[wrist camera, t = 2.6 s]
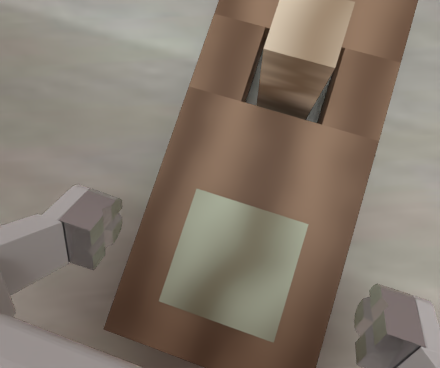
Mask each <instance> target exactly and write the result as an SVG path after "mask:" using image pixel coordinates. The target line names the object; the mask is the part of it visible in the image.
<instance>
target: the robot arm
mask: <svg viewBox="0 0 440 368" xmlns="http://www.w3.org/2000/svg"><path fill="white" fill-rule="evenodd" d="M121 209H122V200H121V199H119V198H117V197H114V196H111V195H108V194H105V193H103V192H100V191H97V190H94V189H91V188H88V187H85V186H82V185H80V184H76V185H73V186H72V187H71V188H70V189H69V190H68V191H67V192H66V193H64V194H63V195H62V196H61V197H60V198H59V199H58V200H57V201H56V202H55V203H54V204H53V205H52V206H51V207H50V208H49V209H47V210H46V211H45V212H44V213H43V214H42V215H40V214H35V215H32V216H29V217H26V218H22V219H19V220H16V221H13V222H10V223H7V224H4V225H1V226H0V368H143V367H141V366H138V365H136V364H133V363H131V362H128V361H125V360H123V359H120V358H118V357H115V356H112V355H110V354H107V353H105V352H102V351H99V350H97V349H94V348H92V347H89V346H86V345H84V344H81V343H79V342H76V341H73V340H71V339H68V338H66V337H63V336H60V335H58V334H55V333H53V332H50V331H48V330H45V329H42V328H40V327H37V326H35V325H32V324H29V323H27V322H24V321H22V320H19V319H16V318H14V317H13V316H14V315H15V314H16V312H15V307H14V304H13V302H12V299H11V295H12V294H14V293H16V292H18V291H20V290H22V289H23V288H25V287H27V286H29V285H31V284H33V283H34V282H36V281H38V280H40V279H42V278H43V277H45V276H47V275H49V274H51V273H53V272H54V271H56V270H58V269H60V268H62V267H64V266H65V265H67V264H69V262H70V263H73V264H76V265H79V266H82V267H85V268H88V269H91V270H94V269H95V268H96V267H97V265H98V264H99V263H100V261H101V260H102V258H103V257H104V256H105V248H106V247H108V246H110V245H112V244H113V243H114V242H115V240H116V239H117V237H118V235H119V233H120V230H121V227H122V216H121V215H120V214H119V211H120V210H121ZM369 292H370V297H367V298H364V299H362V301H361V302H360V303H359V305H358V307H357V310H356V313H355V320H354V323H355V330H356V332H357V333H358V335H359V336H360V338H359V339H358V340H357V341H356V343H355V345H356V363H357V365H359V366H361V367H364V368H440V328H439V324H438V320H437V317H436V313H435V309H434V306H433V304H432V303H431V301H429V300H426V299H423V298H420V297H417V296H414V295H410V294H408V293H405V292H402V291H398V290H395V289H392V288H389V287H386V286H383V285H380V284H376V285H374V286H373V287H372V288H371V289H370V290H369Z"/></svg>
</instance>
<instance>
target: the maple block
mask: <svg viewBox="0 0 440 368" xmlns="http://www.w3.org/2000/svg"><path fill="white" fill-rule="evenodd" d="M354 4H355V2H353V1H349V0H279V3H278V6H277V9H276V12H275V15H274V18H273V21H272V24H271V27H270V30H269V33H268V36H267V39H266V42H265V45H264V49H263V57H262V65H261V74H260V82H259V91H258V99H257V106H259V107H262V108H266V109H269V110H273V111H276V112H280V113H283V114H287V115H290V116H293V117H297V118H300V119H304V120H306V118H307V116H308V114H309V113H310V111H311V109H312V108H313V106H314V104H315V102H316V101H317V99H318V97H319V95H320V94H321V92H322V90H323V88H324V87H325V85H326V83H327V81H328V80H329V78H330V76H331V75H332V73H333V71H334V69H335V67H336V64H337V61H338V57H339V54H340V51H341V47H342V44H343V41H344V37H345V34H346V31H347V27H348V24H349V21H350V18H351V14H352V11H353V8H354Z"/></svg>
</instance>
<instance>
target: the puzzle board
mask: <svg viewBox="0 0 440 368" xmlns="http://www.w3.org/2000/svg"><path fill="white" fill-rule="evenodd" d="M349 1H353V2H355V4H354V8H353V11H352V14H351V18H350V21H349V24H348V27H347V31H346V34H345V37H344V41H343V44H342V47H341V51H340V54H339V57H338V61H337V64H336V67H335V69H334V71H333V73H332V76H331V80H330V83H329V86H328V90H327V93H326V96H325V99H324V103H323V106H322V109H321V113H320V116H319V119H318V123H314V122H311V121H307V120H304V119H300V118H297V117H293V116H290V115H287V114H283V113H280V112H276V111H273V110H269V109H266V108H262V107H259V106H255V105H252V104H248V103H245V102H246V99H247V96H248V93H249V89H250V86H251V83H252V80H253V77H254V74H255V71H256V68H257V65H258V62H259V59H260V56H261V53H262V50H263V49H264V45H265V42H266V39H267V36H268V33H269V30H270V27H271V24H272V21H273V18H274V15H275V12H276V9H277V6H278V3H279V0H219V2H218V5H217V8H216V11H215V14H214V16H213V19H212V22H211V25H210V28H209V31H208V33H207V36H206V39H205V42H204V45H203V48H202V50H201V53H200V56H199V59H198V62H197V65H196V68H195V70H194V73H193V76H192V79H191V82H190V85H189V87H188V90H187V93H186V96H185V99H184V102H183V104H182V107H181V110H180V113H179V116H178V119H177V122H176V124H175V127H174V130H173V133H172V136H171V139H170V141H169V144H168V147H167V150H166V153H165V156H164V159H163V161H162V164H161V167H160V170H159V173H158V176H157V178H156V181H155V184H154V187H153V190H152V193H151V195H150V198H149V201H148V204H147V207H146V210H145V213H144V215H143V218H142V221H141V224H140V227H139V230H138V232H137V235H136V238H135V241H134V244H133V247H132V249H131V252H130V255H129V258H128V261H127V264H126V267H125V269H124V272H123V275H122V278H121V281H120V284H119V286H118V289H117V292H116V295H115V298H114V301H113V303H112V306H111V309H110V312H109V315H108V318H107V321H106V323H105V326H104V330H107V331H109V332H112V333H115V334H117V335H120V336H123V337H125V338H128V339H131V340H133V341H136V342H139V343H141V344H144V345H147V346H149V347H152V348H154V349H157V350H160V351H162V352H165V353H168V354H170V355H173V356H176V357H178V358H181V359H184V360H186V361H189V362H192V363H194V364H197V365H200V366H202V367H205V368H316V365H317V361H318V357H319V354H320V350H321V347H322V343H323V339H324V336H325V332H326V329H327V325H328V322H329V318H330V314H331V311H332V307H333V304H334V300H335V296H336V293H337V289H338V286H339V282H340V279H341V275H342V271H343V268H344V264H345V261H346V257H347V253H348V250H349V246H350V243H351V239H352V236H353V232H354V228H355V225H356V221H357V218H358V214H359V210H360V207H361V203H362V200H363V196H364V193H365V189H366V185H367V182H368V178H369V175H370V171H371V167H372V164H373V160H374V157H375V153H376V150H377V146H378V142H379V139H380V135H381V132H382V128H383V124H384V121H385V117H386V114H387V110H388V106H389V103H390V99H391V96H392V92H393V89H394V85H395V81H396V78H397V74H398V71H399V67H400V63H401V60H402V56H403V53H404V49H405V46H406V42H407V38H408V35H409V31H410V28H411V24H412V20H413V17H414V13H415V10H416V6H417V3H418V0H349Z"/></svg>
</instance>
